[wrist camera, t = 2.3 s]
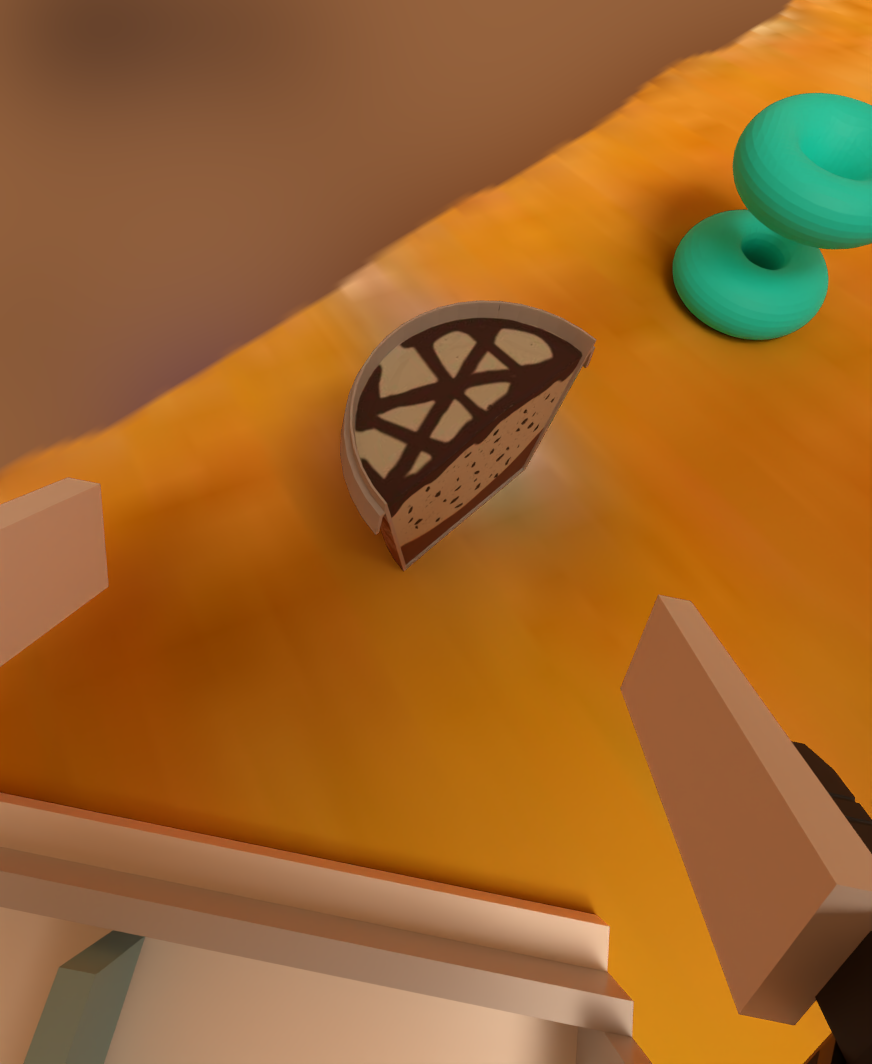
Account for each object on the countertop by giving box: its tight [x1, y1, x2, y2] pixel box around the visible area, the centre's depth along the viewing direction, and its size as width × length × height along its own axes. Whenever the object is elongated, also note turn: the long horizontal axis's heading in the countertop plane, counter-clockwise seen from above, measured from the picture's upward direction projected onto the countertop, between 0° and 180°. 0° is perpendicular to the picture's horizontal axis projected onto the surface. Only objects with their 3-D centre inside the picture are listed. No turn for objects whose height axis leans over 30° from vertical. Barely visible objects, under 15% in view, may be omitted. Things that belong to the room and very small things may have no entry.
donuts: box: [672, 93, 872, 340], centre depth 32 cm, size 10×10×10 cm
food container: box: [340, 301, 596, 571], centre depth 25 cm, size 12×6×10 cm, turn 132°
